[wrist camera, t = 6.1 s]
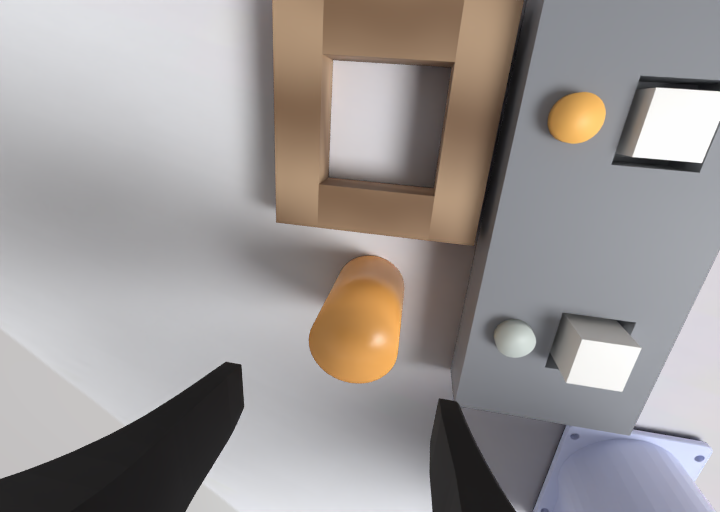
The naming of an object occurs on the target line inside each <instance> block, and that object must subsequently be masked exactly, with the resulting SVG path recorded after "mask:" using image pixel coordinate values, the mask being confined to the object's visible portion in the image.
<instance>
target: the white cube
mask: <svg viewBox="0 0 720 512" xmlns="http://www.w3.org/2000/svg"><path fill="white" fill-rule="evenodd" d="M719 121H720V91H704V90H688V89H672V88H657V87H656V88H647V89H637V90H636V91H635V94H634V97H633V100H632V103H631V106H630V109H629V112H628V115H627V118H626V122H625V125H624V128H623V131H622V134H621V137H620V140H619V143H618V146H617V149H616V152H615V153H616V154H621V155H625V156H630V157H638V158H650V159H662V160H673V161H685V162H697V163H702V161H703V159H704V157H705V154H706V152H707V149H708V147H709V145H710V142H711V140H712V138H713V135H714V133H715V130H716V128H717V126H718V123H719Z"/></svg>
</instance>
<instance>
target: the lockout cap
mask: <svg viewBox="0 0 720 512" xmlns="http://www.w3.org/2000/svg"><path fill="white" fill-rule="evenodd" d="M403 298H404V281H403V278H402V275H401V274H400V272H399V270H398V269H397V268H396V267H395V266H394V265H393V264H392V263H391V262H389V261H387V260H386V259H383V258H381V257H377V256H361V257H357V258H355V259H353V260H351V261H349V262H348V263H347V264H346V265H345V266H344V267H343V269H342V270H341V272H340V274H339V276H338V278H337V280H336V281H335V283H334V285H333V287H332V289H331V291H330V293H329V295H328V297H327V299H326V301H325V303H324V305H323V307H322V309H321V310H320V312H319V314H318V316H317V318H316V320H315V322H314V324H313V326H312V328H311V330H310V334H309V347H310V351H311V354H312V356H313V358H314V360H315V361H316V363H317V364H318V365H319V366H320V367H321V368H322V369H323V370H324V371H325V372H326V373H328V374H329V375H331V376H333V377H334V378H337V379H339V380H342V381H345V382H349V383H368V382H372V381H375V380H377V379H380V378H381V377H383V376H384V375H386V374H387V373H388V372H389V371H390V370H391V369H392V367H393V366H394V364H395V362H396V359H397V355H398V346H399V336H400V327H401V317H402V308H403Z"/></svg>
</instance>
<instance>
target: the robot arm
mask: <svg viewBox="0 0 720 512" xmlns="http://www.w3.org/2000/svg"><path fill="white" fill-rule="evenodd" d="M243 409H244V397H243V382H242V367H241V364H235V363H229V362H225V363H224V364H222V365H221V366H219V367H218V368H216V369H215V370H213V371H212V372H210V373H209V374H208V375H206V376H205V377H203V378H202V379H200V380H199V381H198V382H196V383H195V384H193V385H192V386H190V387H189V388H187V389H186V390H184V391H183V392H181V393H180V394H178V395H177V396H175V397H174V398H172V399H171V400H169V401H167V402H166V403H164V404H163V405H161V406H159V407H158V408H156V409H155V410H153V411H151V412H150V413H148V414H147V415H145V416H143V417H141V418H140V419H138V420H136V421H134V422H132V423H131V424H129V425H127V426H125V427H123V428H121V429H119V430H117V431H116V432H114V433H112V434H110V435H108V436H106V437H103V438H101V439H100V440H97V441H95V442H93V443H91V444H88V445H86V446H84V447H82V448H80V449H78V450H75V451H73V452H71V453H69V454H66V455H64V456H61V457H59V458H56V459H54V460H52V461H49V462H47V463H44V464H41V465H39V466H36V467H34V468H31V469H28V470H25V471H23V472H20V473H17V474H14V475H11V476H8V477H5V478H2V479H0V512H185V511H186V510H187V508H188V506H189V504H190V502H191V501H192V499H193V497H194V495H195V494H196V492H197V490H198V489H199V487H200V485H201V484H202V482H203V481H204V479H205V477H206V476H207V474H208V472H209V471H210V469H211V468H212V466H213V464H214V463H215V461H216V459H217V458H218V456H219V455H220V453H221V451H222V450H223V448H224V446H225V445H226V443H227V441H228V440H229V438H230V436H231V435H232V433H233V431H234V429H235V426H236V424H237V422H238V420H239V418H240V416H241V413H242V411H243ZM573 433H576V434H573ZM571 434H572V435H571ZM711 454H712V448H711V447H710V446H709V445H708V444H707V443H706V442H703V441H697V440H692V439H686V438H680V437H674V436H668V435H662V434H656V433H651V432H645V431H639V430H632V433H631V435H630V436H628V435H622V434H616V433H610V432H605V431H599V430H593V429H587V428H581V427H576V426H570V425H566V427H565V430H564V433H563V435H562V438H561V440H560V443H559V446H558V448H557V451H556V453H555V456H554V459H553V461H552V464H551V466H550V469H549V471H548V474H547V477H546V479H545V482H544V484H543V487H542V490H541V492H540V495H539V497H538V500H537V503H536V505H535V508H534V510H533V512H716V511H715V510H714V508H713V507H712V505H711V504H710V503H709V501H708V500H707V499H706V497H705V496H704V495H703V493H702V492H701V490H700V489H699V488H698V486H697V485H696V484H695V480H696V479H697V477H698V475H699V474H700V472H701V470H702V469H703V467H704V466H705V464H706V462H707V461H708V459H709V457H710V456H711ZM430 484H431V497H432V509H433V512H516V511H515V509H514V508H513V506H512V505H511V503H510V502H509V500H508V499H507V497H506V496H505V494H504V492H503V491H502V489H501V487H500V486H499V484H498V482H497V481H496V479H495V477H494V476H493V474H492V472H491V470H490V468H489V467H488V465H487V463H486V461H485V459H484V457H483V455H482V453H481V452H480V450H479V448H478V446H477V444H476V442H475V440H474V438H473V435H472V433H471V431H470V429H469V427H468V425H467V422H466V420H465V418H464V415H463V413H462V410H461V407H460V405H459V403H458V402H457V401H451V400H445V399H439V400H438V405H437V410H436V415H435V420H434V425H433V431H432V436H431V441H430Z"/></svg>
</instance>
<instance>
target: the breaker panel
mask: <svg viewBox="0 0 720 512" xmlns="http://www.w3.org/2000/svg"><path fill="white" fill-rule="evenodd" d="M656 87H657V88H672V89H688V90H704V91H720V0H527V3H526V7H525V12H524V17H523V22H522V27H521V32H520V36H519V41H518V46H517V51H516V56H515V61H514V65H513V70H512V75H511V80H510V85H509V90H508V95H507V99H506V104H505V109H504V114H503V119H502V124H501V128H500V133H499V138H498V143H497V148H496V153H495V157H494V162H493V167H492V172H491V177H490V182H489V187H488V191H487V196H486V201H485V206H484V211H483V216H482V220H481V225H480V230H479V235H478V240H477V245H476V249H475V254H474V259H473V264H472V269H471V274H470V279H469V283H468V288H467V293H466V298H465V303H464V308H463V312H462V317H461V322H460V327H459V332H458V337H457V341H456V346H455V351H454V356H453V361H452V366H451V378H452V388H453V397H454V401H457V402H458V403H459V405H460V407H466V408H472V409H477V410H483V411H489V412H495V413H500V414H506V415H512V416H518V417H524V418H529V419H535V420H541V421H547V422H553V423H558V424H564V425H570V426H576V427H581V428H587V429H593V430H599V431H605V432H610V433H616V434H622V435H628V436H630V435H631V433H632V430H633V428H634V426H635V424H636V422H637V420H638V418H639V416H640V414H641V412H642V410H643V408H644V406H645V404H646V401H647V399H648V397H649V395H650V393H651V391H652V389H653V387H654V385H655V383H656V381H657V379H658V377H659V374H660V372H661V370H662V368H663V366H664V364H665V362H666V360H667V358H668V356H669V354H670V352H671V350H672V348H673V345H674V343H675V341H676V339H677V337H678V335H679V333H680V331H681V329H682V327H683V325H684V323H685V321H686V319H687V316H688V314H689V312H690V310H691V308H692V306H693V304H694V302H695V300H696V298H697V296H698V294H699V292H700V290H701V287H702V285H703V283H704V281H705V279H706V277H707V275H708V273H709V271H710V269H711V267H712V265H713V263H714V261H715V258H716V256H717V254H718V252H719V250H720V121H719V123H718V126H717V128H716V130H715V133H714V135H713V138H712V140H711V142H710V145H709V147H708V149H707V152H706V154H705V157H704V159H703V161H702V163H697V162H685V161H673V160H662V159H650V158H638V157H630V156H625V155H621V154H616V153H615V152H616V149H617V146H618V143H619V140H620V137H621V134H622V131H623V128H624V125H625V122H626V118H627V115H628V112H629V109H630V106H631V103H632V100H633V97H634V94H635V91H636V90H637V89H647V88H656ZM562 313H570V314H578V315H585V316H592V317H599V318H607V319H614V320H616V321H617V322H618V323H619V324H620V325H621V326H622V327H623V328H624V329H625V330H626V331H627V333H628V334H629V335H630V336H631V337H632V338H633V339H634V340H635V341H636V342H637V343H638V344H639V346H640V347H641V348H642V349H641V351H640V353H639V355H638V358H637V360H636V362H635V364H634V367H633V369H632V371H631V373H630V376H629V378H628V380H627V382H626V385H625V387H624V389H623V391H622V392H620V391H613V390H607V389H601V388H595V387H588V386H582V385H576V384H570V383H566V382H565V380H564V378H563V376H562V374H561V372H560V370H559V368H558V366H557V365H556V363H555V361H554V359H553V357H552V355H551V353H550V350H551V347H552V344H553V341H554V338H555V335H556V332H557V329H558V325H559V322H560V319H561V316H562Z"/></svg>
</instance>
